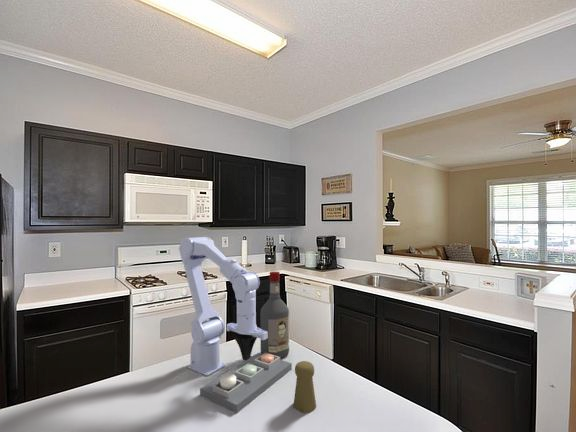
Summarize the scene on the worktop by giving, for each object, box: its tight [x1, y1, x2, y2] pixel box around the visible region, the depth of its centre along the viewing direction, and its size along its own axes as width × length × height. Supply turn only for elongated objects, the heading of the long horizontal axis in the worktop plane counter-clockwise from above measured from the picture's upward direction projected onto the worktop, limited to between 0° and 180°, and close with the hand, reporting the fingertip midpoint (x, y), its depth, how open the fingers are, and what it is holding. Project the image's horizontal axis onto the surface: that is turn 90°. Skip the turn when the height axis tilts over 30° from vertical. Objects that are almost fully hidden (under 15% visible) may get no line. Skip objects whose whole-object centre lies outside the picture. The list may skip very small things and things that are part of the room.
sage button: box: [242, 365, 257, 376], centre depth 89 cm, size 4×4×2 cm
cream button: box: [220, 374, 236, 389], centre depth 82 cm, size 4×4×2 cm
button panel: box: [199, 352, 293, 414], centre depth 89 cm, size 14×26×3 cm, turn 147°
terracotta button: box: [261, 354, 274, 364], centre depth 97 cm, size 4×4×2 cm
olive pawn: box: [293, 360, 317, 414], centre depth 77 cm, size 6×6×11 cm
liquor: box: [259, 271, 290, 360], centre depth 107 cm, size 9×9×30 cm
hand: (246, 358), depth 88 cm, fingers closed
